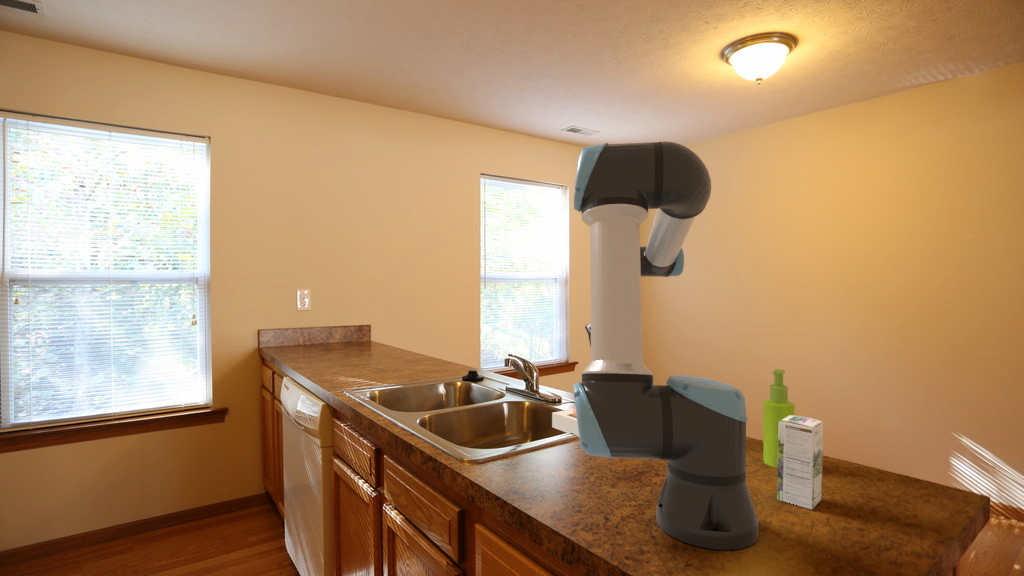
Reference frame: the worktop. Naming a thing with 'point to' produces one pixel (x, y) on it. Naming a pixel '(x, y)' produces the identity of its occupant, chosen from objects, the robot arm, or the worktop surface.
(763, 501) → the worktop surface
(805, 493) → the syrup box
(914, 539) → the worktop surface
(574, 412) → the terracotta button
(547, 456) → the worktop surface
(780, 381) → the soap dispenser
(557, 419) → the button panel
